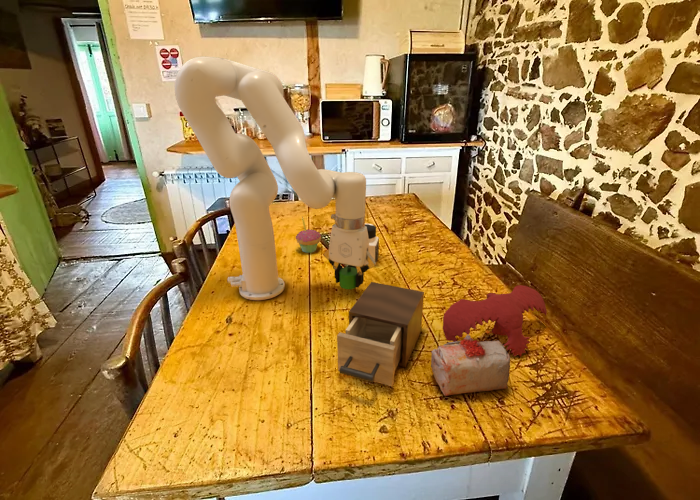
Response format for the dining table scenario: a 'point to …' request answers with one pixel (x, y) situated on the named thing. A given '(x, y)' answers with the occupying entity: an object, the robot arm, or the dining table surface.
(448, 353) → the food item
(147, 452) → the dining table surface
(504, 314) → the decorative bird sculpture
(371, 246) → the medicine bottle
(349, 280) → the pepper
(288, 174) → the robot arm
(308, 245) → the cupcake
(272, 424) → the dining table surface
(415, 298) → the cabinet
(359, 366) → the drawer
